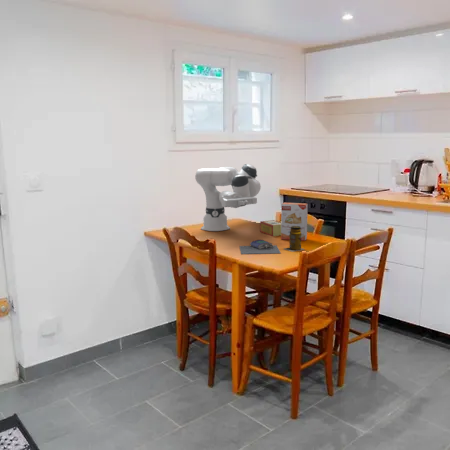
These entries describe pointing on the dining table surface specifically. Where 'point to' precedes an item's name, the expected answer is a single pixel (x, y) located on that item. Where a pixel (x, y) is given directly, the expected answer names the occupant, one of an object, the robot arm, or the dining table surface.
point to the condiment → (295, 239)
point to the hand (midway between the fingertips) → (245, 203)
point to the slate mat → (259, 250)
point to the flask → (261, 244)
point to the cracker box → (293, 219)
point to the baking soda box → (270, 227)
